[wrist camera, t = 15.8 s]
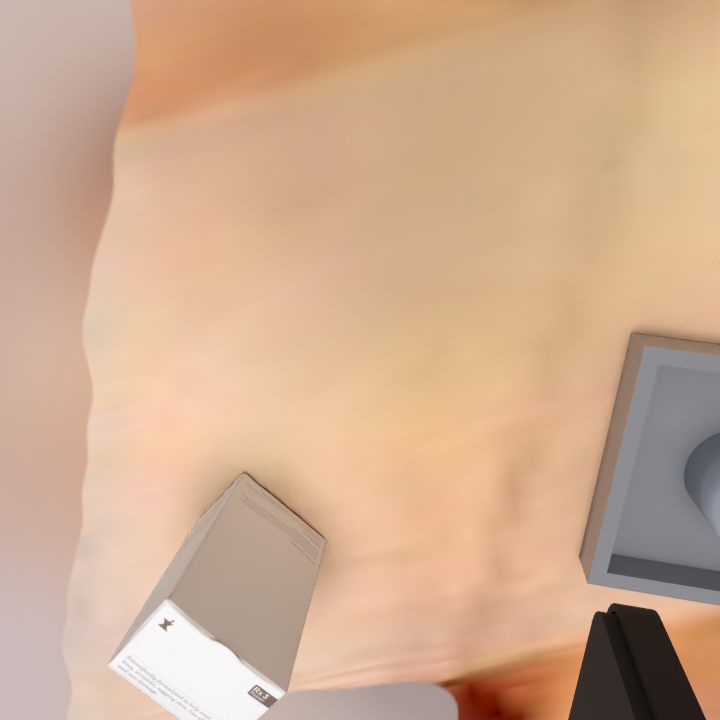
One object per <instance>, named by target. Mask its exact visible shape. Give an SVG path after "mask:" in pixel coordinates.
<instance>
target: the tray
mask: <svg viewBox="0 0 720 720" xmlns="http://www.w3.org/2000/svg"><path fill="white" fill-rule="evenodd" d="M718 433H720V344H713V343H706V342H698V341H690V340H682V339H675V338H667V337H659V336H652V335H644V334H636V333H631V337H630V342H629V346H628V350H627V354H626V359H625V363H624V367H623V372H622V376H621V380H620V385H619V389H618V393H617V397H616V402H615V406H614V410H613V415H612V419H611V423H610V427H609V432H608V436H607V440H606V445H605V449H604V453H603V457H602V462H601V466H600V470H599V475H598V479H597V483H596V487H595V492H594V496H593V500H592V505H591V509H590V513H589V517H588V522H587V526H586V530H585V535H584V539H583V543H582V548H581V552H580V556H579V558H580V561H581V564H582V567H583V570H584V574H585V577H586V580H587V583H588V584H594V585H600V586H606V587H612V588H618V589H624V590H630V591H636V592H642V593H648V594H654V595H660V596H666V597H671V598H677V599H683V600H689V601H695V602H701V603H707V604H713V605H719V606H720V538H719V537H718V536H717V534H716V533H715V531H714V530H713V529H712V527H711V526H710V524H709V523H708V521H707V520H706V519H705V517H704V516H703V514H702V513H701V512H700V510H699V509H698V507H697V506H696V505H695V503H694V502H693V500H692V499H691V497H690V496H689V494H688V492H687V490H686V487H685V484H684V470H685V466H686V463H687V460H688V458H689V456H690V455H691V453H692V452H693V451H694V449H695V448H696V447H697V446H698V445H699V444H700V443H702V442H703V441H704V440H706V439H707V438H709V437H711V436H713V435H715V434H718Z"/></svg>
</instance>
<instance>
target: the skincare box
mask: <svg viewBox="0 0 720 720" xmlns="http://www.w3.org/2000/svg"><path fill="white" fill-rule="evenodd" d="M325 544H326V540H325V539H324V538H323V537H321V536H320V535H319V534H318V533H317V532H315V531H314V530H313V529H312V528H311V527H309V526H308V525H307V524H306V523H305V522H303V521H302V520H301V519H300V518H299V517H297V516H296V515H295V514H294V513H293V512H291V511H290V510H289V509H288V508H286V507H285V506H284V505H283V504H282V503H280V502H279V501H278V500H277V499H276V498H274V497H273V496H272V495H271V494H270V493H268V492H267V491H266V490H264V489H263V488H262V487H261V486H259V485H258V484H257V483H256V482H255V481H253V480H252V479H251V478H250V477H249V476H248V475H247V474H245V473H243V474H241V475H240V476H239V477H238V478H237V479H236V480H235V481H234V483H233V484H232V485H231V486H230V487H229V488H228V489H227V490H226V491H225V492H224V493H223V494H222V495H221V496H220V497H219V498H218V499H217V501H216V502H215V503H214V504H213V505H212V506H211V507H210V508H209V509H208V510H207V511H206V512H205V513H204V514H203V515H202V517H201V518H200V519H199V520H198V521H197V522H196V524H195V525H194V527H193V528H192V530H191V531H190V533H189V534H188V536H187V538H186V539H185V541H184V542H183V544H182V546H181V547H180V549H179V550H178V552H177V554H176V555H175V557H174V558H173V560H172V562H171V563H170V565H169V566H168V568H167V570H166V571H165V573H164V575H163V576H162V578H161V579H160V581H159V583H158V584H157V586H156V587H155V589H154V590H153V592H152V593H151V595H150V597H149V598H148V600H147V601H146V603H145V605H144V606H143V608H142V609H141V611H140V613H139V614H138V616H137V617H136V619H135V620H134V622H133V624H132V625H131V627H130V629H129V630H128V632H127V634H126V635H125V637H124V638H123V640H122V642H121V643H120V645H119V646H118V648H117V650H116V651H115V653H114V655H113V656H112V658H111V660H110V662H109V663H108V667H110V668H111V669H112V670H114V671H115V672H116V673H118V674H119V675H120V676H122V677H123V678H124V679H126V680H127V681H128V682H130V683H131V684H133V685H134V686H135V687H137V688H138V689H139V690H141V691H142V692H144V693H145V694H146V695H148V696H149V697H150V698H152V699H153V700H154V701H156V702H157V703H158V704H160V705H161V706H162V707H164V708H165V709H166V710H168V711H169V712H170V713H172V714H173V715H174V716H176V717H177V718H178V719H180V720H257V719H258V718H259V717H260V716H261V715H262V714H264V713H265V712H266V711H267V710H268V709H269V708H270V707H271V706H272V705H274V704H275V703H276V702H277V701H278V700H279V699H281V698H282V697H283V696H284V695H285V694H286V693H287V690H288V686H289V682H290V678H291V674H292V670H293V666H294V662H295V658H296V655H297V651H298V647H299V643H300V639H301V635H302V631H303V628H304V624H305V620H306V617H307V613H308V609H309V605H310V601H311V597H312V593H313V590H314V586H315V582H316V578H317V574H318V570H319V566H320V563H321V559H322V555H323V551H324V547H325Z"/></svg>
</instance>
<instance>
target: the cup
mask: <svg viewBox="0 0 720 720" xmlns="http://www.w3.org/2000/svg"><path fill="white" fill-rule="evenodd" d="M684 484H685V487H686V490H687V492H688V494H689V496H690V497H691V499H692V500H693V502H694V503H695V505H696V506H697V507H698V509H699V510H700V512H701V513H702V514H703V516H704V517H705V519H706V520H707V521H708V523H709V524H710V526H711V527H712V529H713V530H714V531H715V533H716V534H717V536H718V537H719V538H720V433H718V434H715V435H713V436H711V437H709V438H707V439H706V440H704V441H703V442H702V443H700V444H699V445H698V446H697V447H696V448H695V449H694V451H693V452H692V453H691V455H690V456H689V458H688V460H687V463H686V466H685V470H684Z"/></svg>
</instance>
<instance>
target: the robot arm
mask: <svg viewBox="0 0 720 720" xmlns="http://www.w3.org/2000/svg"><path fill="white" fill-rule="evenodd" d="M568 720H706V718H705V716H704V714H703V712H702V710H701V707H700V705H699V703H698V701H697V698H696V696H695V694H694V692H693V690H692V687H691V685H690V683H689V681H688V679H687V676H686V674H685V672H684V670H683V667H682V665H681V663H680V661H679V659H678V656H677V654H676V652H675V650H674V647H673V645H672V643H671V641H670V639H669V636H668V634H667V632H666V630H665V627H664V625H663V623H662V621H661V619H660V616H659V615H658V613H657V612H656V611H655V610H652V609H646V608H640V607H634V606H628V605H622V604H616V603H613V604H611V605H610V607H609V608H608V611H607V613H605V612H599V611H598V612H596V613H595V615H594V618H593V621H592V625H591V629H590V633H589V637H588V641H587V645H586V649H585V653H584V658H583V662H582V666H581V670H580V674H579V678H578V682H577V686H576V690H575V694H574V699H573V703H572V707H571V711H570V715H569V719H568Z"/></svg>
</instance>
